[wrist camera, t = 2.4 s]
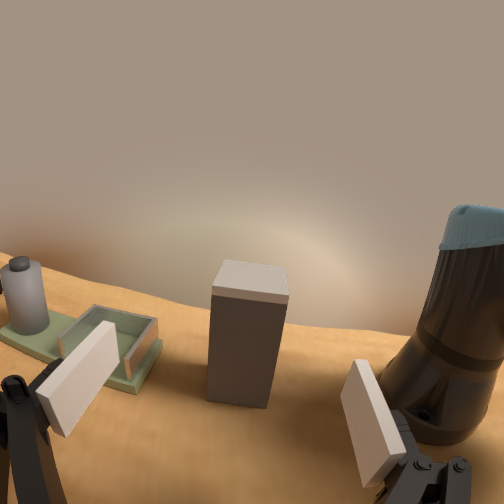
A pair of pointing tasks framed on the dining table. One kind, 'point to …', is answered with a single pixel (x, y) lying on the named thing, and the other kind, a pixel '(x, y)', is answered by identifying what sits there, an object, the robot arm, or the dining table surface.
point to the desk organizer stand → (53, 324)
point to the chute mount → (123, 323)
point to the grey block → (245, 332)
